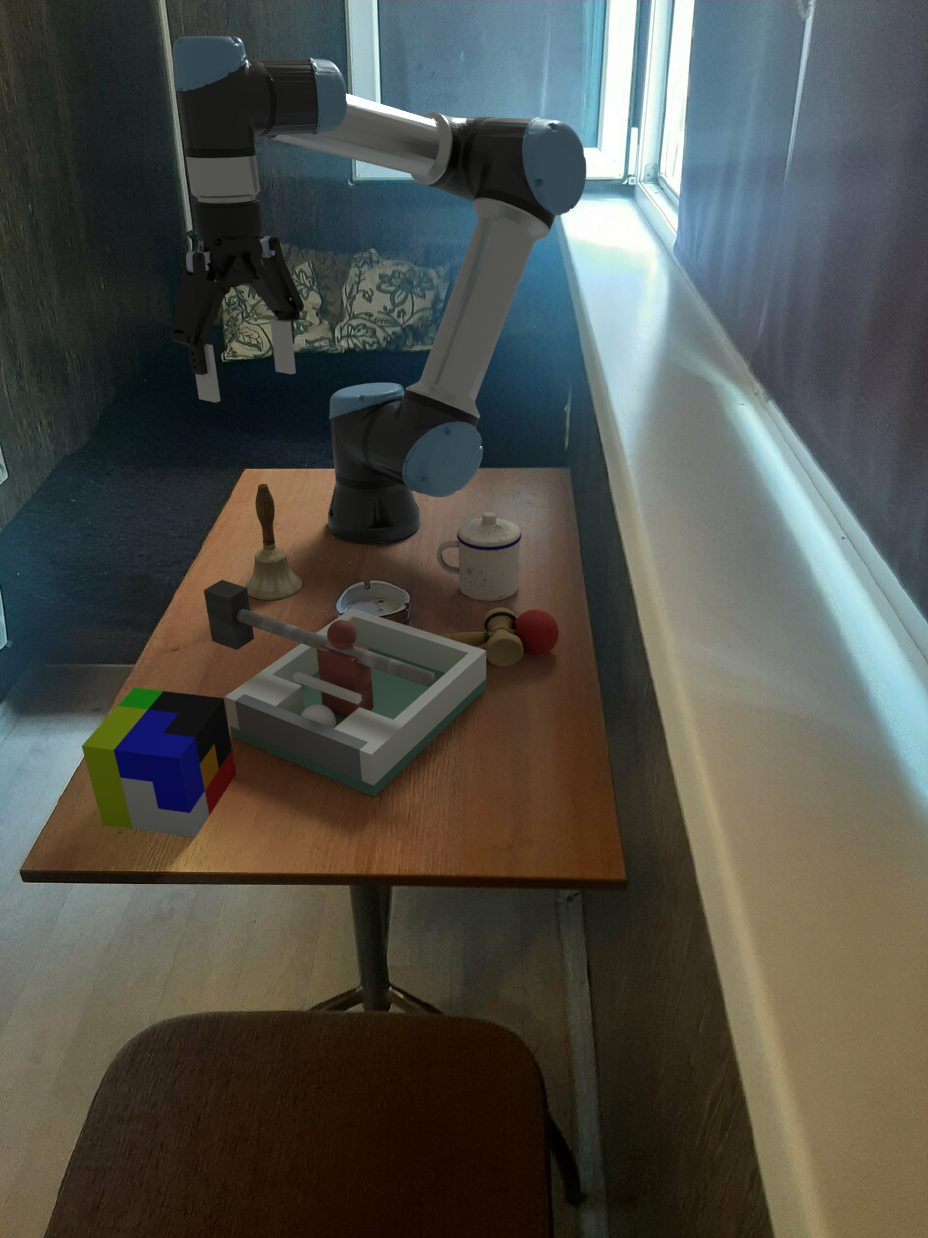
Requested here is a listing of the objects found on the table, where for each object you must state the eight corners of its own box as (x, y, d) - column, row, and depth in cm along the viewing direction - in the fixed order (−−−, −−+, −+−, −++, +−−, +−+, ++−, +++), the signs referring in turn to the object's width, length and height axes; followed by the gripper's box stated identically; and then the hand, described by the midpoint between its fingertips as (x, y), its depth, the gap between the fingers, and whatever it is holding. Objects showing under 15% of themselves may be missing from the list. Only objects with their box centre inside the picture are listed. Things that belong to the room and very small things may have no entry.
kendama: (423, 685, 118) (565, 662, 118) (414, 639, 116) (559, 615, 116) (423, 662, 126) (557, 640, 125) (414, 617, 124) (551, 595, 123)
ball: (286, 728, 102) (304, 738, 106) (315, 740, 100) (332, 750, 104) (302, 694, 103) (319, 706, 107) (331, 705, 101) (348, 716, 105)
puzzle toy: (195, 838, 93) (179, 758, 88) (102, 825, 95) (81, 745, 90) (236, 774, 102) (223, 698, 97) (150, 763, 103) (133, 687, 98)
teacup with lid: (520, 573, 141) (521, 501, 135) (520, 603, 133) (522, 528, 128) (439, 572, 142) (438, 500, 136) (435, 602, 134) (433, 526, 128)
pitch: (354, 644, 124) (350, 595, 120) (485, 688, 115) (486, 637, 111) (231, 736, 107) (222, 683, 104) (374, 796, 98) (370, 740, 94)
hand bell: (306, 573, 142) (295, 473, 134) (297, 600, 135) (285, 496, 127) (251, 573, 142) (237, 473, 134) (239, 600, 135) (224, 496, 127)
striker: (234, 655, 118) (221, 574, 112) (440, 731, 104) (438, 643, 98) (216, 668, 116) (202, 585, 110) (424, 747, 102) (421, 657, 96)
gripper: (275, 185, 117) (292, 358, 127) (114, 208, 98) (150, 407, 109) (322, 188, 113) (336, 365, 124) (166, 212, 95) (197, 418, 106)
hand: (249, 385), depth 116 cm, fingers open, 13 cm apart
